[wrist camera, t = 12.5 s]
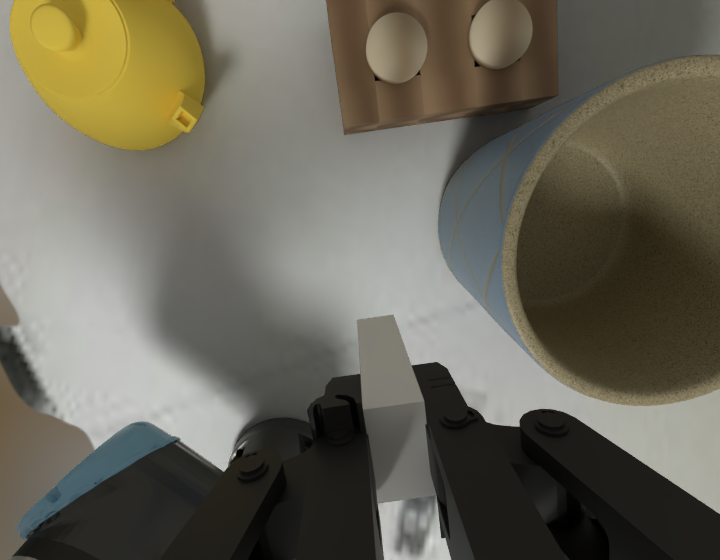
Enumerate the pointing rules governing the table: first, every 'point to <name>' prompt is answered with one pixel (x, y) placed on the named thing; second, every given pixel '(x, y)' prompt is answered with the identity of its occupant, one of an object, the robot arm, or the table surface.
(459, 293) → the table surface
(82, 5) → the teapot
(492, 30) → the peg
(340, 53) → the socket block
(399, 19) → the peg
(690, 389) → the planter
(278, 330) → the table surface
